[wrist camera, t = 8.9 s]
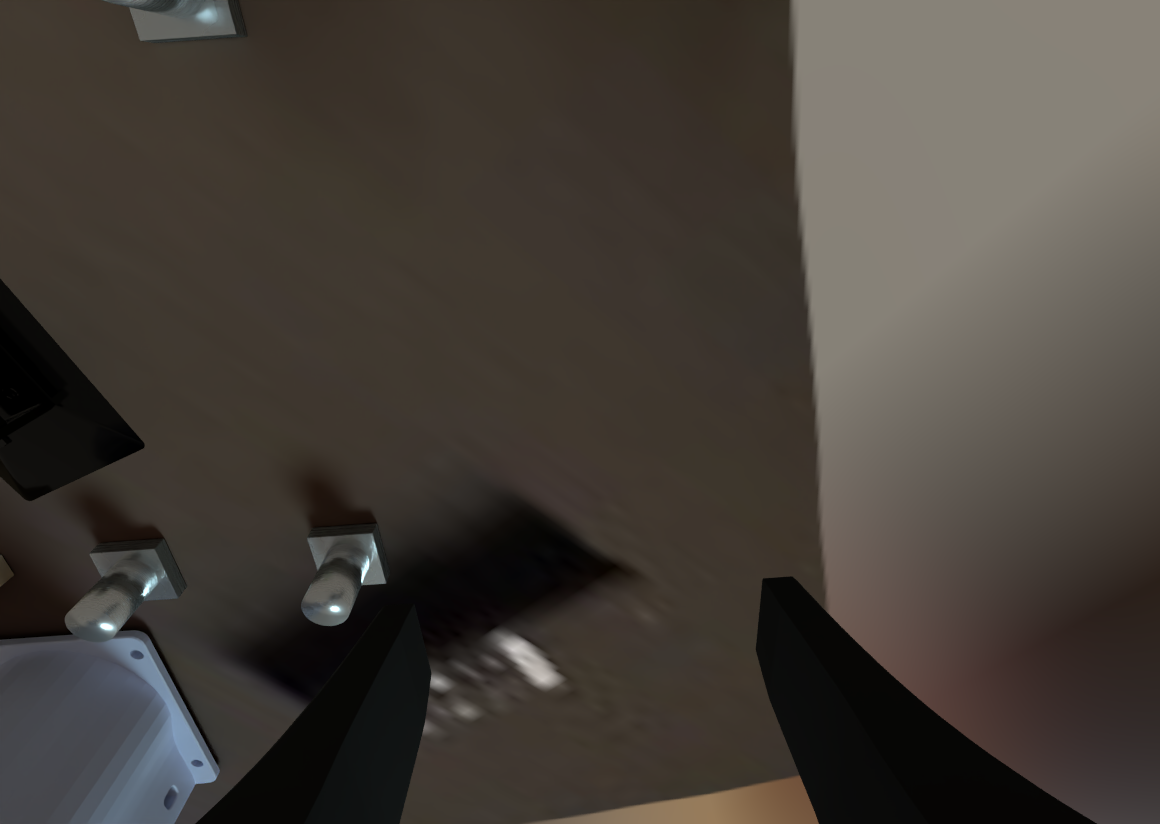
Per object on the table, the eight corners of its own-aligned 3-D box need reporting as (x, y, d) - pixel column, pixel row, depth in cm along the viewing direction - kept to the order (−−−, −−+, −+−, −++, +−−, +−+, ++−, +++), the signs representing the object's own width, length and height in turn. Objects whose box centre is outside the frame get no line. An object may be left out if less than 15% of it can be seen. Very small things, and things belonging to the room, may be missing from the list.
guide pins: (389, 572, 24) (368, 631, 21) (125, 591, 24) (70, 653, 21) (216, -81, 15) (139, -124, 12) (-216, -51, 15) (-391, -86, 12)
